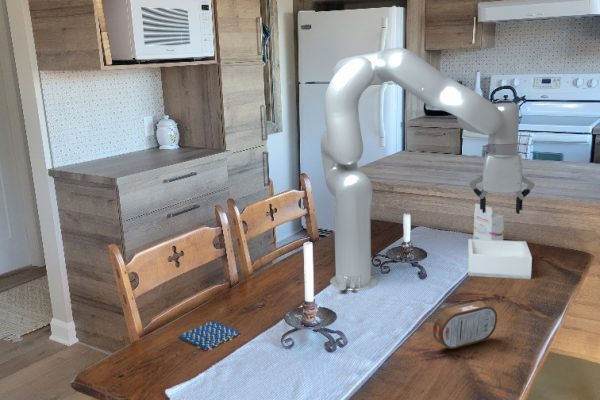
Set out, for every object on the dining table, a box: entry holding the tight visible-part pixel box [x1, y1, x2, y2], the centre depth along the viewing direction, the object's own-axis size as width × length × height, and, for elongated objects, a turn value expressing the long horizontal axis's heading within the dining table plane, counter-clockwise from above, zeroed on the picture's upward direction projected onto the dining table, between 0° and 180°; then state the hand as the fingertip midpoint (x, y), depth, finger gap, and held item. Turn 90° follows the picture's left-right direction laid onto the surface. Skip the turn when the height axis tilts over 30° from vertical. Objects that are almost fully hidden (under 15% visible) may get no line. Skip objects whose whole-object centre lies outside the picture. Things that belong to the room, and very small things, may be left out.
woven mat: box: [178, 320, 242, 353], centre depth 126 cm, size 10×11×2 cm
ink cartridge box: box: [472, 203, 505, 240], centre depth 176 cm, size 9×5×15 cm, turn 22°
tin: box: [432, 300, 498, 350], centre depth 119 cm, size 15×3×8 cm, turn 114°
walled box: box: [467, 238, 533, 280], centre depth 162 cm, size 15×16×6 cm
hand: (500, 211), depth 159 cm, fingers open, 8 cm apart
